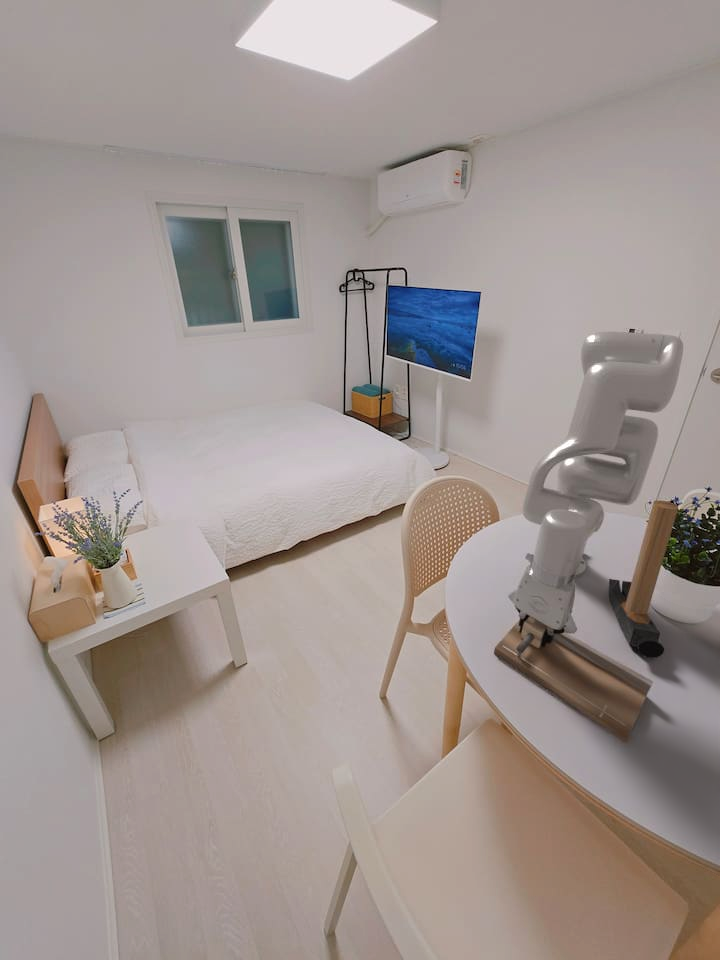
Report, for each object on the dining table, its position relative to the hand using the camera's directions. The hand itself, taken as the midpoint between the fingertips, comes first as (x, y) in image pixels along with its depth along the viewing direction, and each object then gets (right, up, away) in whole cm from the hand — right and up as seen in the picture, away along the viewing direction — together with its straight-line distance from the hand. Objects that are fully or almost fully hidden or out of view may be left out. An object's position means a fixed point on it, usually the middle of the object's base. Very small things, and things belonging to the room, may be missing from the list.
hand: (534, 635), depth 86 cm
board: (+4, -5, -5) cm, 9 cm away
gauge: (-2, -1, -1) cm, 2 cm away
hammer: (+24, 0, +5) cm, 25 cm away
